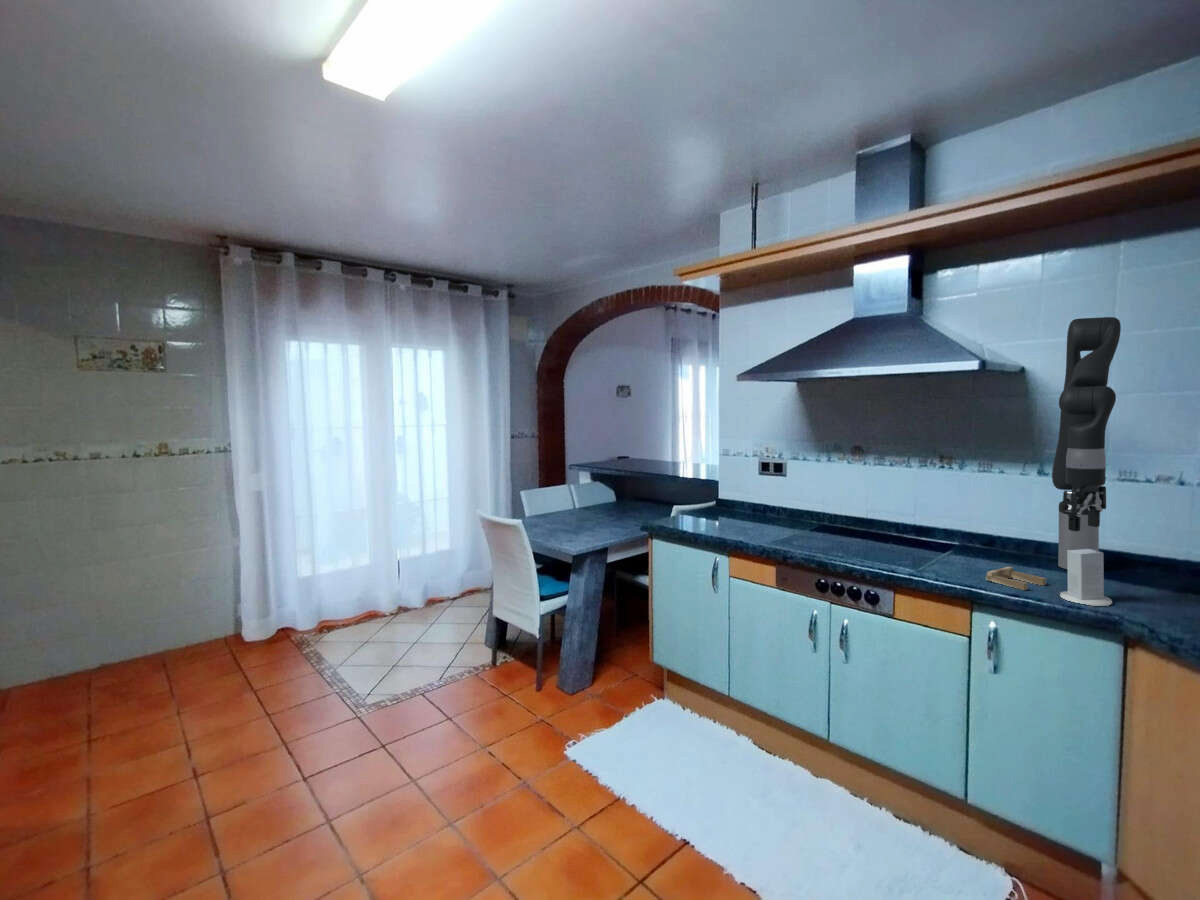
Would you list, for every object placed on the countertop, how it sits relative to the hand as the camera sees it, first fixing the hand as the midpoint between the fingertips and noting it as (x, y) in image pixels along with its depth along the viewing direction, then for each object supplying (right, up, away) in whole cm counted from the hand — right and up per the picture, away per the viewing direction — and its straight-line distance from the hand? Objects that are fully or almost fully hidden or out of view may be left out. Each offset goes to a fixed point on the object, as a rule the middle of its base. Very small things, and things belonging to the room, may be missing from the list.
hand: (1084, 528), depth 140 cm
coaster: (+1, -19, +1) cm, 19 cm away
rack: (-5, -18, +16) cm, 24 cm away
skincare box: (+1, -18, +1) cm, 18 cm away
